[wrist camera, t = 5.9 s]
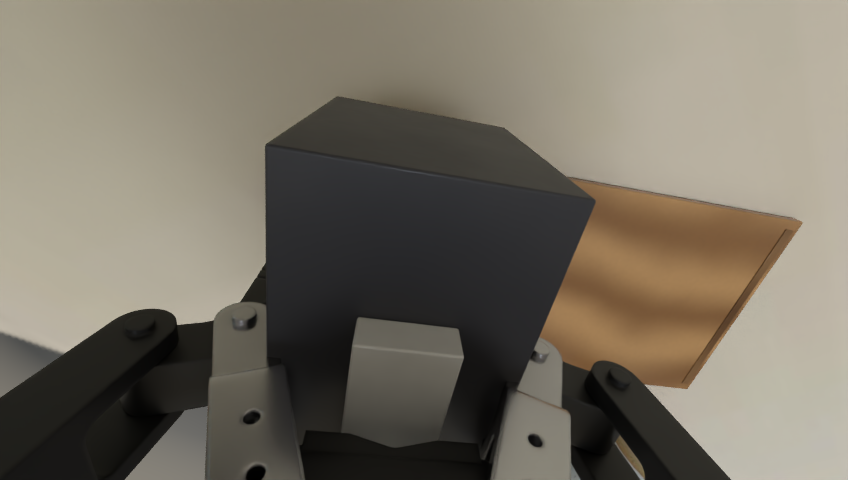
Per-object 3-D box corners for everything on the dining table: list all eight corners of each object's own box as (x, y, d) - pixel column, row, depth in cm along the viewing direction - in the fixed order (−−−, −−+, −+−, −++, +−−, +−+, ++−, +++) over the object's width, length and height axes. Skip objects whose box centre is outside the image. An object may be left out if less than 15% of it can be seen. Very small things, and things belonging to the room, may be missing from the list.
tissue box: (336, 95, 11) (242, 157, 5) (505, 128, 12) (623, 219, 5) (316, 360, 16) (256, 568, 10) (437, 372, 17) (457, 575, 10)
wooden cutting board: (547, 173, 21) (551, 176, 20) (794, 218, 23) (805, 222, 22) (482, 360, 27) (484, 367, 26) (682, 383, 29) (688, 390, 28)
